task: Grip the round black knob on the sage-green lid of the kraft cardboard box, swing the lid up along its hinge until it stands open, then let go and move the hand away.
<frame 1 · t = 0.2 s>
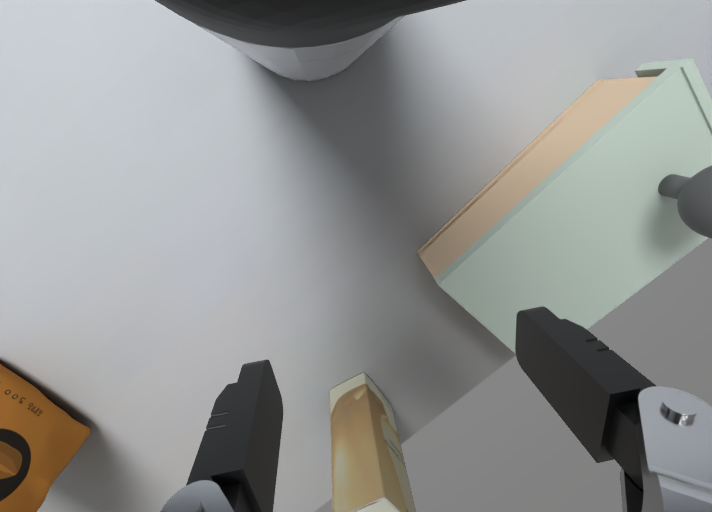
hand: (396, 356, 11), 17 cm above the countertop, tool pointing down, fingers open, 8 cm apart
coffee package: (20, 405, 32), on the countertop
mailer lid: (613, 252, 22), point 7 cm above the countertop, hinge at 0.0°
skincare box: (360, 395, 36), on the countertop
mailer box: (539, 220, 29), on the countertop
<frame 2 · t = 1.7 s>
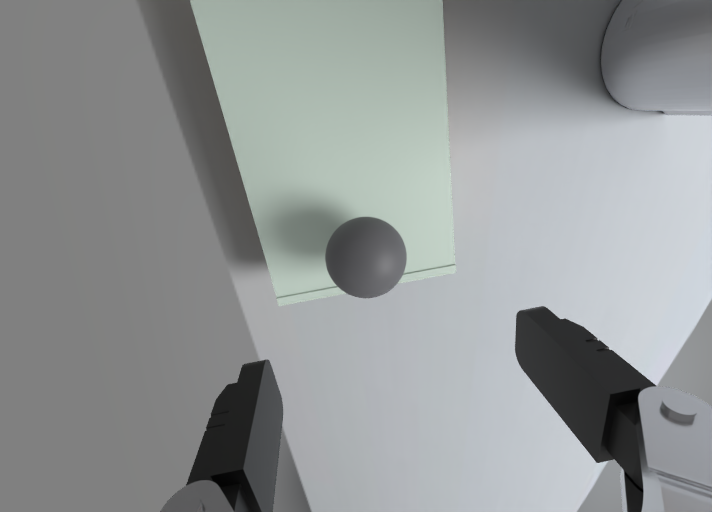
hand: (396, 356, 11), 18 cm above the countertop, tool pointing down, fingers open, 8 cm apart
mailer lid: (345, 148, 19), point 7 cm above the countertop, hinge at 0.0°
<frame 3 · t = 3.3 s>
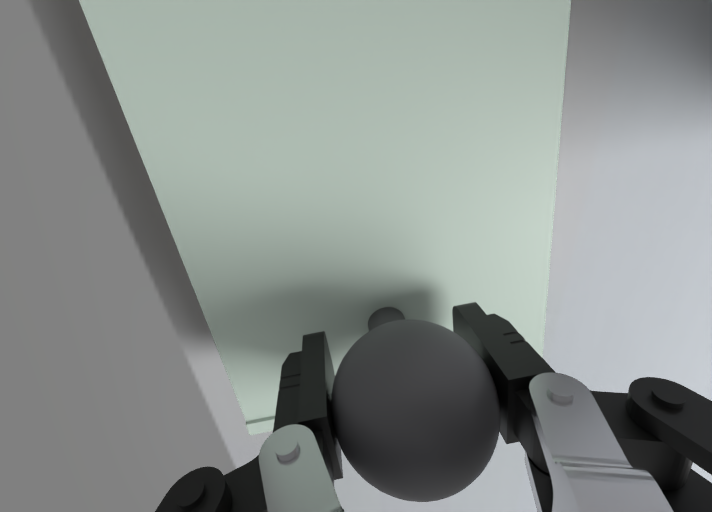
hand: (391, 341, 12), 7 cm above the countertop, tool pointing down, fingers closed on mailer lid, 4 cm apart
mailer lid: (372, 184, 9), point 7 cm above the countertop, hinge at 0.0°, touching gripper
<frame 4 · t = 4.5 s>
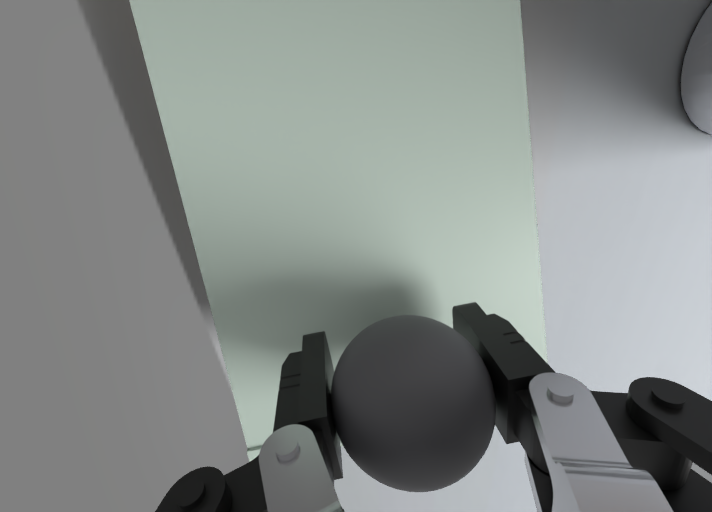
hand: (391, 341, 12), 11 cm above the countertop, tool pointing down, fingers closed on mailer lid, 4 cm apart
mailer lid: (368, 196, 11), point 10 cm above the countertop, hinge at 13.3°, touching gripper
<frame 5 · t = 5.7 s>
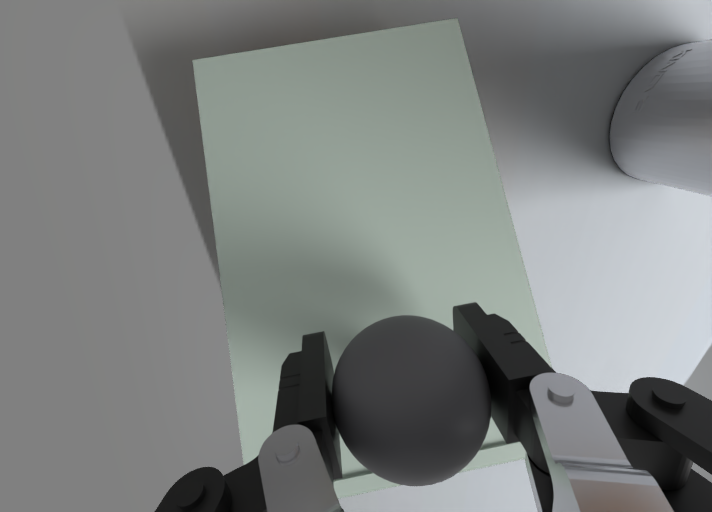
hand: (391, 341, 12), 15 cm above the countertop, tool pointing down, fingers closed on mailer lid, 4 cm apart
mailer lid: (367, 228, 13), point 12 cm above the countertop, hinge at 33.7°, touching gripper
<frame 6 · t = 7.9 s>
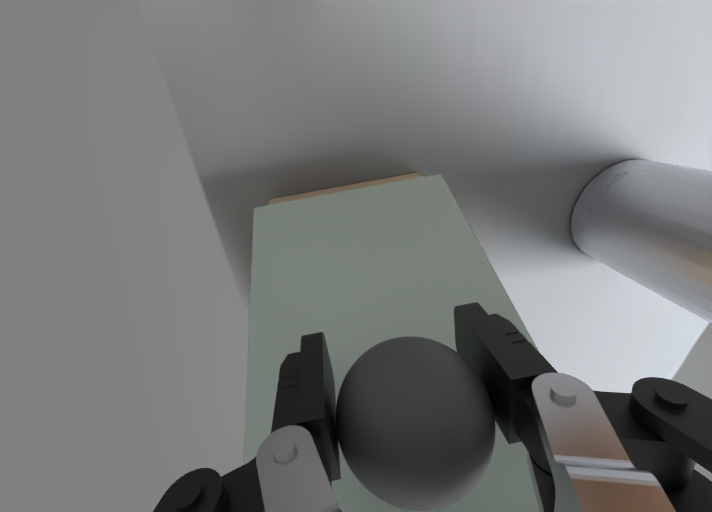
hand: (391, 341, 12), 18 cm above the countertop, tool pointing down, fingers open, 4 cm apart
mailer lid: (377, 299, 15), point 15 cm above the countertop, hinge at 64.6°
mailer box: (361, 282, 31), on the countertop
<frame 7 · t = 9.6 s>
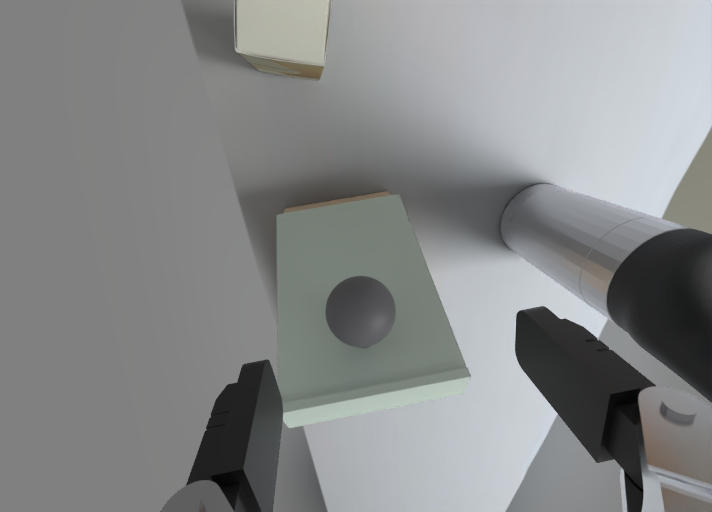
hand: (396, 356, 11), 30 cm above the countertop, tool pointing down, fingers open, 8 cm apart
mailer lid: (351, 267, 27), point 15 cm above the countertop, hinge at 64.7°
skincare box: (292, 52, 34), on the countertop
mailer box: (348, 269, 43), on the countertop
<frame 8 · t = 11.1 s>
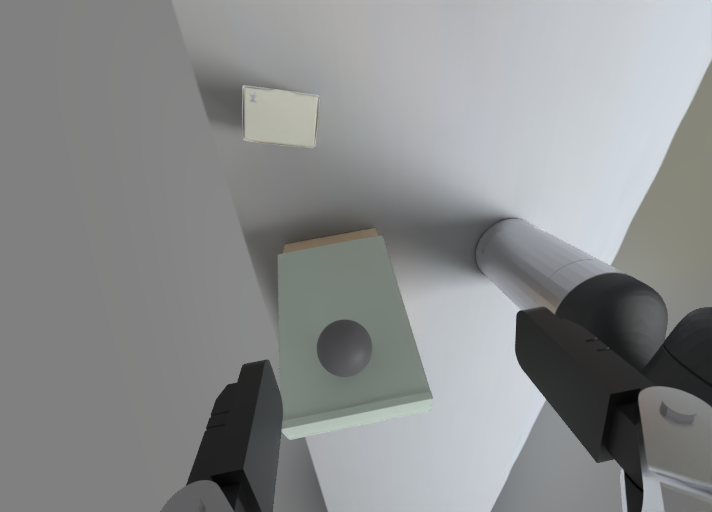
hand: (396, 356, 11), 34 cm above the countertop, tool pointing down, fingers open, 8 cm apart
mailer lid: (339, 305, 33), point 15 cm above the countertop, hinge at 64.7°
skincare box: (289, 116, 39), on the countertop
mailer box: (341, 294, 49), on the countertop
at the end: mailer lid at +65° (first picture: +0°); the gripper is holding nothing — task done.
